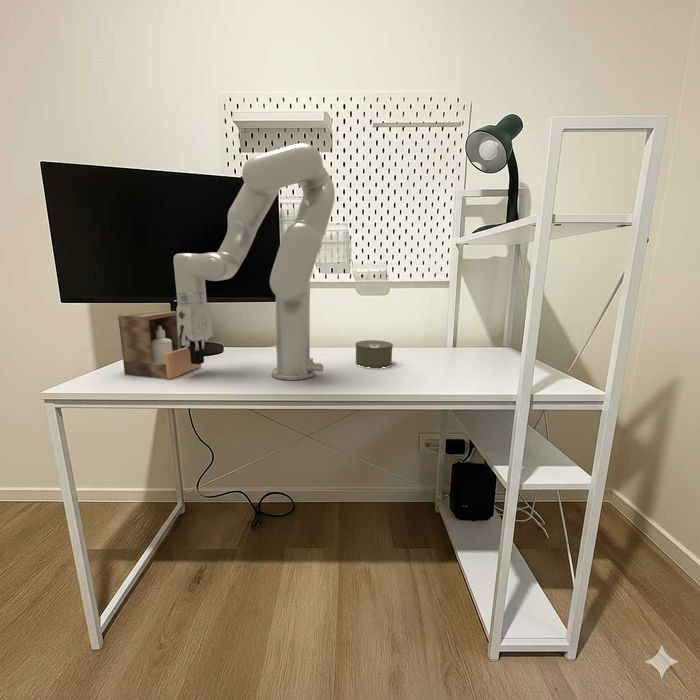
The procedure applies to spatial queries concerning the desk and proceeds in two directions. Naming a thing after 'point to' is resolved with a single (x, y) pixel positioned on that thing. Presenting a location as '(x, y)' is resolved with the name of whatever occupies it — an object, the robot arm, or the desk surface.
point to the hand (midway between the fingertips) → (197, 363)
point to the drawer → (179, 362)
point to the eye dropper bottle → (160, 346)
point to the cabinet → (145, 341)
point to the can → (374, 353)
